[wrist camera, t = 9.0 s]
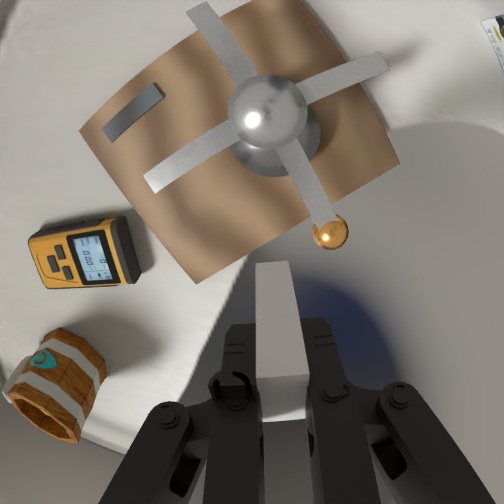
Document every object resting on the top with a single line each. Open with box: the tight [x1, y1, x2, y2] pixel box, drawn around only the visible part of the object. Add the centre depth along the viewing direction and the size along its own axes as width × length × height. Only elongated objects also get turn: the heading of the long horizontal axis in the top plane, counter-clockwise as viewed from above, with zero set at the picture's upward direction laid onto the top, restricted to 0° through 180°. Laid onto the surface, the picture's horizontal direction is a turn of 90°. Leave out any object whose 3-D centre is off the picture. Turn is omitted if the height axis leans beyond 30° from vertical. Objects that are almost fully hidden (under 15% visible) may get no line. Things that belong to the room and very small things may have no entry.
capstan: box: [143, 1, 390, 250], centre depth 20 cm, size 21×19×8 cm
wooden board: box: [79, 0, 400, 284], centre depth 25 cm, size 26×22×2 cm
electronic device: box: [28, 216, 141, 289], centre depth 30 cm, size 8×16×3 cm, turn 96°
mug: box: [2, 328, 106, 443], centre depth 34 cm, size 20×14×15 cm
